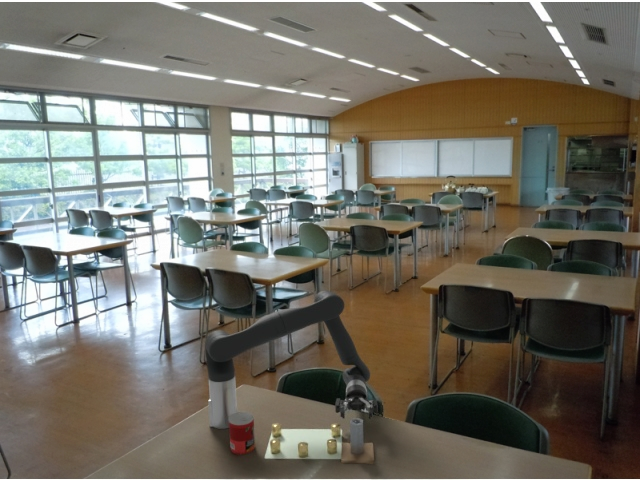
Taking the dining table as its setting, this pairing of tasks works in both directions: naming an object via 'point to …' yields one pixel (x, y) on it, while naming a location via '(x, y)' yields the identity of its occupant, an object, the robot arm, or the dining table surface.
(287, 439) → the parts mat
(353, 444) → the grey hexagonal metal post
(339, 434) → the spacers
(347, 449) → the tray
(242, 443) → the canned food
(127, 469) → the dining table surface
